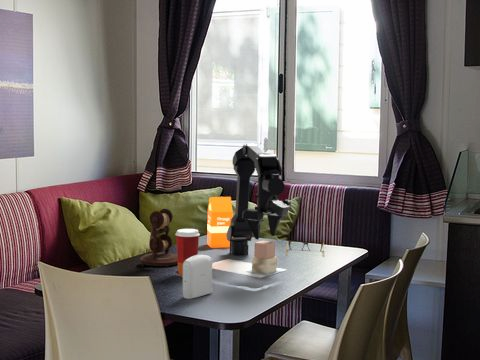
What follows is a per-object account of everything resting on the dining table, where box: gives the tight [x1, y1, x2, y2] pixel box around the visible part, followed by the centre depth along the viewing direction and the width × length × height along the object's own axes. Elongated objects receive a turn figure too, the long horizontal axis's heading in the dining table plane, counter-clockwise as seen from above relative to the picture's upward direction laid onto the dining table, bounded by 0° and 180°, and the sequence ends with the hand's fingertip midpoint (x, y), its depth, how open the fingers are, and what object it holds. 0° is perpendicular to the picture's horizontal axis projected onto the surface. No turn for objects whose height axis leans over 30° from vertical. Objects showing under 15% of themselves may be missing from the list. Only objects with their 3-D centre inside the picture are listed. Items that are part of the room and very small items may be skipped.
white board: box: [212, 258, 287, 279], centre depth 261 cm, size 26×16×1 cm, turn 52°
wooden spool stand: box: [139, 208, 178, 268], centre depth 267 cm, size 15×15×20 cm
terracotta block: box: [253, 240, 276, 259], centre depth 255 cm, size 5×5×5 cm
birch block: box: [251, 256, 278, 274], centre depth 256 cm, size 6×6×5 cm
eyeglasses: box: [286, 240, 325, 258], centre depth 294 cm, size 14×14×4 cm
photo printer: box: [182, 254, 213, 300], centre depth 227 cm, size 10×4×12 cm, turn 140°
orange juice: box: [206, 196, 234, 249], centre depth 305 cm, size 8×9×20 cm
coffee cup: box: [174, 228, 201, 277], centre depth 254 cm, size 8×8×15 cm
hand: (265, 237), depth 255 cm, fingers open, 9 cm apart
